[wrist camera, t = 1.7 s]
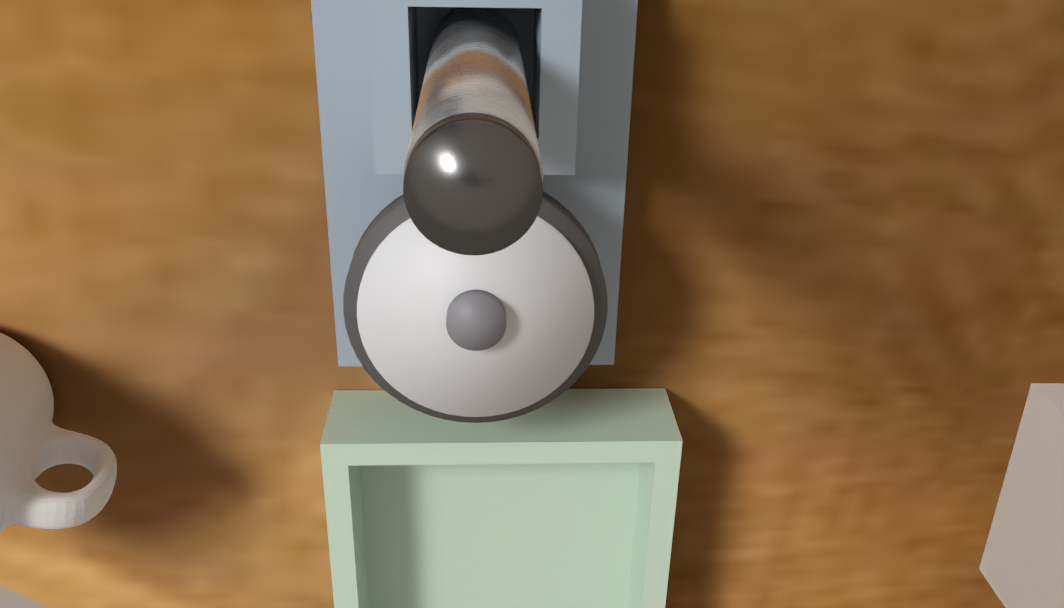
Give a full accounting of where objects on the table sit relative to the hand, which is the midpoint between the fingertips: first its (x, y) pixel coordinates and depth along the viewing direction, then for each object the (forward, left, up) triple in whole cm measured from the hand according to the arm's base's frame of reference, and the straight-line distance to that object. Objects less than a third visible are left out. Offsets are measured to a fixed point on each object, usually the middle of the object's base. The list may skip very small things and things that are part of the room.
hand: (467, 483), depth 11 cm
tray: (+22, +1, -26) cm, 34 cm away
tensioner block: (+4, 0, -26) cm, 27 cm away
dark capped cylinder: (0, 0, -25) cm, 25 cm away
